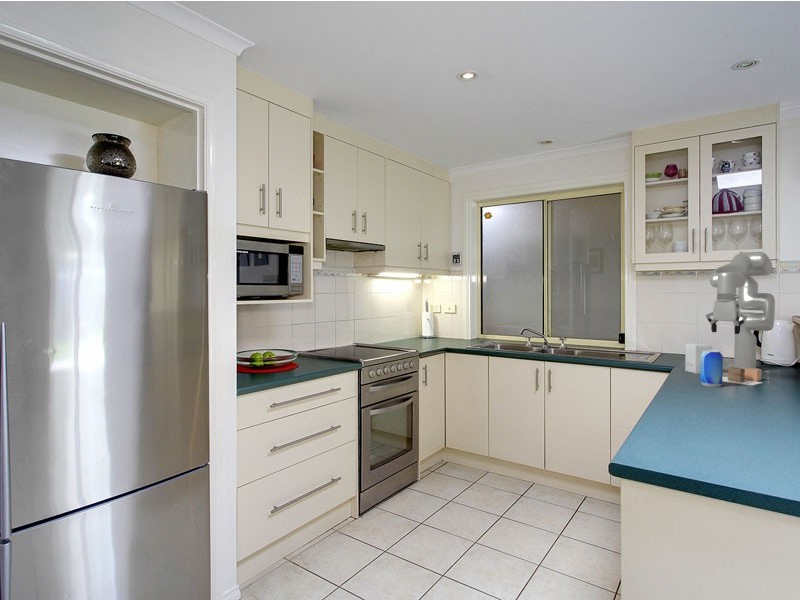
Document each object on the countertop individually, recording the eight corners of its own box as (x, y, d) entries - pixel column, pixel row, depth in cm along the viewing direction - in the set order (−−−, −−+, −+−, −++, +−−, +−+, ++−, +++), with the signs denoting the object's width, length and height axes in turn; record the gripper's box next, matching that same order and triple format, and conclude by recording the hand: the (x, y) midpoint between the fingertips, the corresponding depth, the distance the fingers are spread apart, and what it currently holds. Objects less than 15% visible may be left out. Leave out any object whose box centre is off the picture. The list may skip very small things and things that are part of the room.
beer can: (715, 383, 212) (716, 349, 211) (726, 387, 203) (727, 352, 203) (696, 383, 212) (696, 349, 212) (706, 387, 204) (707, 351, 204)
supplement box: (712, 374, 236) (713, 345, 236) (695, 373, 236) (695, 345, 236) (701, 370, 245) (702, 343, 245) (684, 370, 245) (685, 343, 245)
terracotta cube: (747, 378, 224) (748, 367, 224) (761, 380, 220) (761, 369, 219) (743, 379, 221) (743, 368, 221) (756, 381, 217) (757, 370, 216)
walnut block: (732, 379, 221) (732, 367, 221) (744, 381, 217) (744, 368, 217) (727, 380, 218) (728, 367, 218) (739, 382, 214) (740, 369, 214)
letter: (722, 376, 228) (722, 376, 228) (763, 382, 214) (763, 382, 214) (710, 379, 221) (710, 379, 221) (751, 385, 207) (751, 385, 207)
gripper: (751, 298, 213) (749, 334, 214) (710, 297, 228) (709, 331, 228) (743, 297, 209) (742, 334, 210) (702, 297, 224) (701, 331, 224)
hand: (725, 333), depth 219 cm, fingers open, 9 cm apart
